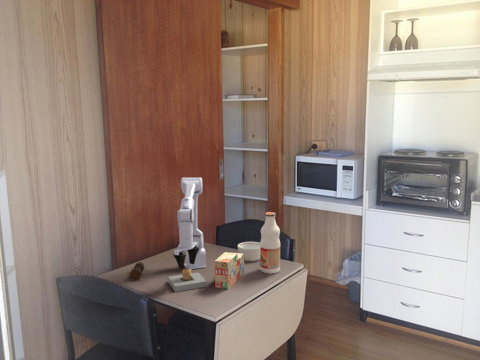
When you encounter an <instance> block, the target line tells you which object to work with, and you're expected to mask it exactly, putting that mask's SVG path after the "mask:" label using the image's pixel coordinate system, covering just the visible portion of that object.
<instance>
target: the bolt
mask: <svg viewBox="0 0 480 360" xmlns="http://www.w3.org/2000/svg"><path fill="white" fill-rule="evenodd" d="M144 269H145V264H144V263H143V262H142V261H139V262H136V263H135V265H134V266H133V268H132V269H131V270H130V273H128V274H129V277H130V279H131V280H133V281H139V280H140V279H141V277H142V276H143V271H144Z"/></svg>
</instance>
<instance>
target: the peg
mask: <svg viewBox="0 0 480 360" xmlns="http://www.w3.org/2000/svg"><path fill="white" fill-rule="evenodd" d="M181 270H182V269H181ZM191 273H192V269H189V268H186V267H185V268H184V269H183V270H182V274H181V275H182V277H183V278H182V279H183V282H186V281H191V279H192V278H191Z"/></svg>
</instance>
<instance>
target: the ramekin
mask: <svg viewBox="0 0 480 360" xmlns="http://www.w3.org/2000/svg"><path fill="white" fill-rule="evenodd" d="M237 249H238V250H237V251H238V253H241V254H244V260H245V261H246V262H256V260H257V261H260V242H258V241H245V242H241V243H238V244H237ZM245 261H244V262H245Z"/></svg>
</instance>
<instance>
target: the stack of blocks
mask: <svg viewBox="0 0 480 360" xmlns="http://www.w3.org/2000/svg"><path fill="white" fill-rule="evenodd" d="M244 273H245V261H244V254H241V253H239V252H227V251H226V252H225V251H224V252H223V253H222V254H221V255H220V256H218V258H216V259H215V260H214V287H215V288H217V289H224V288H225V290H230V288H231V287H232V286H233V285H235V283H236V281H237V280H238V279H240V277H241V276H242V275H243V274H244Z"/></svg>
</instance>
